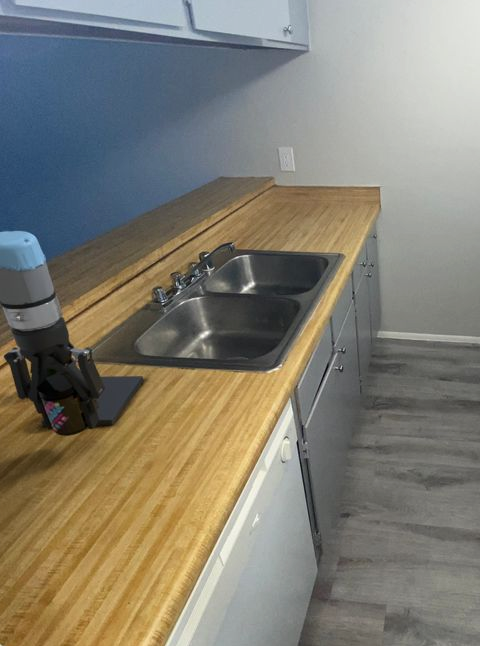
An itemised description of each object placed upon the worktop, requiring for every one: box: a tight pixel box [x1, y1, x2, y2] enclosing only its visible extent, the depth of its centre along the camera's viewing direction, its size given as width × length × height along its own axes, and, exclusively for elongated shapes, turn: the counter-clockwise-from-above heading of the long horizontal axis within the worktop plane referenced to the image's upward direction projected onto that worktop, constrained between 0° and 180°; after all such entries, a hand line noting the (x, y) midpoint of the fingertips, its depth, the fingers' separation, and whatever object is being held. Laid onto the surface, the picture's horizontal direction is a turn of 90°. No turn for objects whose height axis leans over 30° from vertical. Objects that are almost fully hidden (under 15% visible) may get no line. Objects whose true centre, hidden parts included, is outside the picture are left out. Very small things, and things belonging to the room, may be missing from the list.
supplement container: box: [37, 373, 89, 437], centre depth 90 cm, size 7×7×10 cm
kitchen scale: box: [40, 375, 144, 427], centre depth 106 cm, size 14×16×3 cm
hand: (74, 424), depth 92 cm, fingers closed on supplement container, 7 cm apart
